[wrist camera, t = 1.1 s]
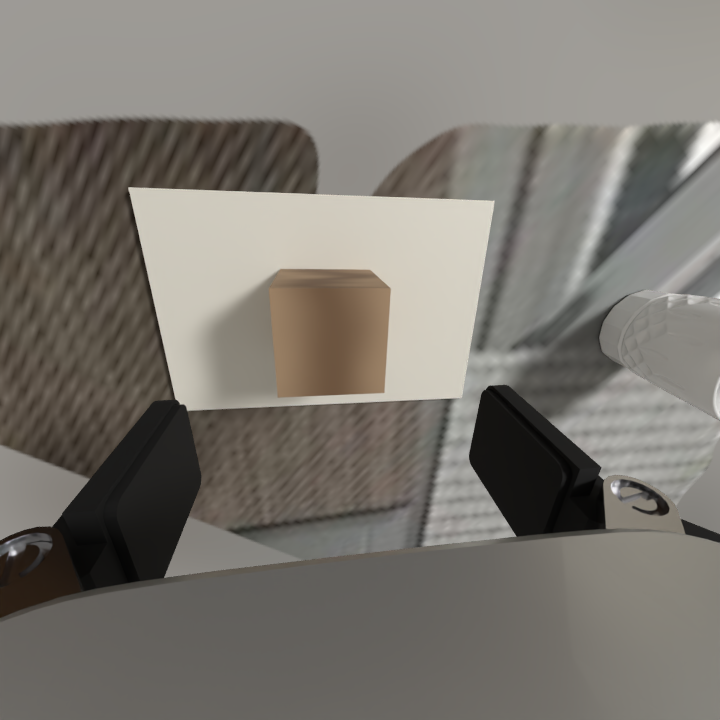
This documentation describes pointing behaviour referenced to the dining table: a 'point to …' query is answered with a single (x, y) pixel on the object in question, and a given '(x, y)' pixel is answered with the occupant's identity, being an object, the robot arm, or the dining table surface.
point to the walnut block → (329, 331)
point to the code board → (307, 251)
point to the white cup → (669, 344)
